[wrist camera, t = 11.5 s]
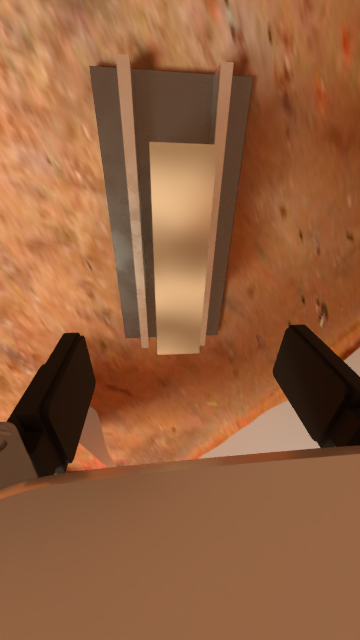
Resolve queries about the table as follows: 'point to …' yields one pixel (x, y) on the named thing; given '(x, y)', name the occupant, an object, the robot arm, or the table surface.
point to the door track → (135, 180)
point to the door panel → (180, 240)
